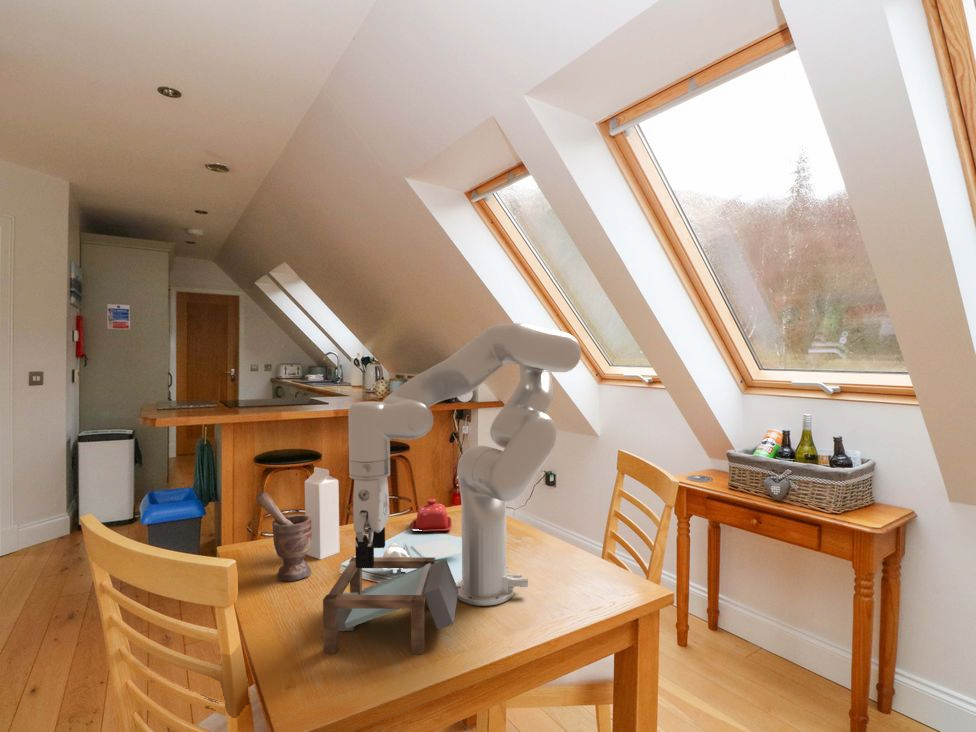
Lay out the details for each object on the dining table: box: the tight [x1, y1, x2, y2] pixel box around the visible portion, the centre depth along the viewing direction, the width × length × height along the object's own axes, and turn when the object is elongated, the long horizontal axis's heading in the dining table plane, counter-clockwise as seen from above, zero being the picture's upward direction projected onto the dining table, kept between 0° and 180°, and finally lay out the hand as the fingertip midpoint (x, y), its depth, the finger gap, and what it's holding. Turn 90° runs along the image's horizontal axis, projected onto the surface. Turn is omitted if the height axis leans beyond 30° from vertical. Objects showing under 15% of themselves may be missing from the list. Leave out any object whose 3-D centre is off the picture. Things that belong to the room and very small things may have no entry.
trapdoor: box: [345, 558, 458, 630], centre depth 105 cm, size 18×15×7 cm
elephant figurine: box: [382, 543, 414, 557], centre depth 131 cm, size 7×8×6 cm
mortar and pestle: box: [256, 491, 312, 582], centre depth 128 cm, size 12×9×20 cm
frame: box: [322, 556, 436, 655], centre depth 105 cm, size 17×19×10 cm
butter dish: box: [411, 498, 452, 532], centre depth 162 cm, size 12×12×8 cm
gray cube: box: [338, 592, 358, 632], centre depth 106 cm, size 5×5×5 cm
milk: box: [304, 466, 340, 560], centre depth 142 cm, size 6×6×22 cm
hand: (371, 557), depth 105 cm, fingers open, 9 cm apart
